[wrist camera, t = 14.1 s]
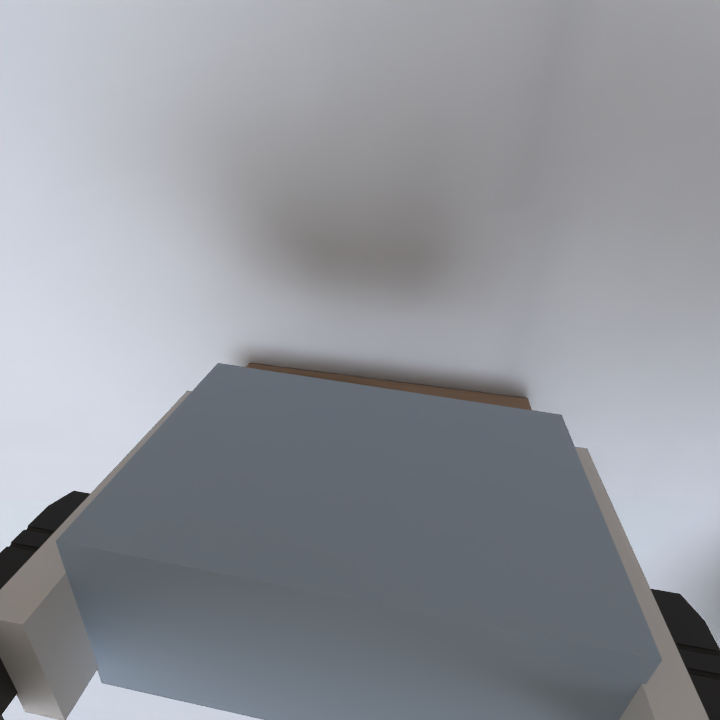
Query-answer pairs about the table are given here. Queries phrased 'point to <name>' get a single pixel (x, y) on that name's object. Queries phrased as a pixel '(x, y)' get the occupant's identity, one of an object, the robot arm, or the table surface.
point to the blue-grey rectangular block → (357, 560)
